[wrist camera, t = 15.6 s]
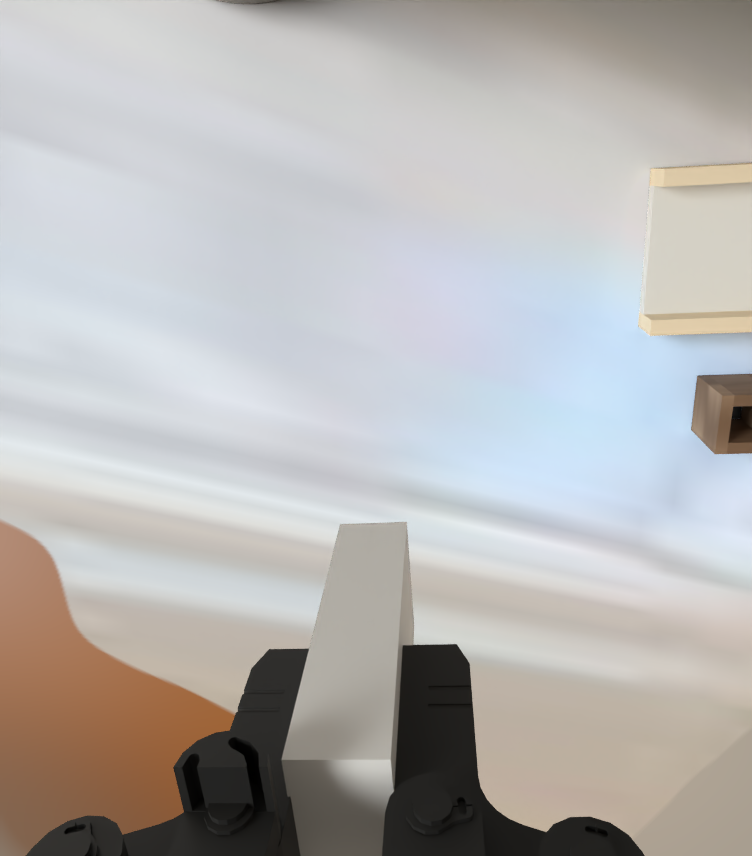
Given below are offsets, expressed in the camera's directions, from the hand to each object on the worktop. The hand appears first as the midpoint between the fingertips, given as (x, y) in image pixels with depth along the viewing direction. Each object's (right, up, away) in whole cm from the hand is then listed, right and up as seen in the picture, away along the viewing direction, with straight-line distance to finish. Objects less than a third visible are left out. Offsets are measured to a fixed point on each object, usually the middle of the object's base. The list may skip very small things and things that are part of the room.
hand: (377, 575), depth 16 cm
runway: (+20, +13, +20) cm, 31 cm away
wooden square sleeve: (+19, +5, +23) cm, 30 cm away
